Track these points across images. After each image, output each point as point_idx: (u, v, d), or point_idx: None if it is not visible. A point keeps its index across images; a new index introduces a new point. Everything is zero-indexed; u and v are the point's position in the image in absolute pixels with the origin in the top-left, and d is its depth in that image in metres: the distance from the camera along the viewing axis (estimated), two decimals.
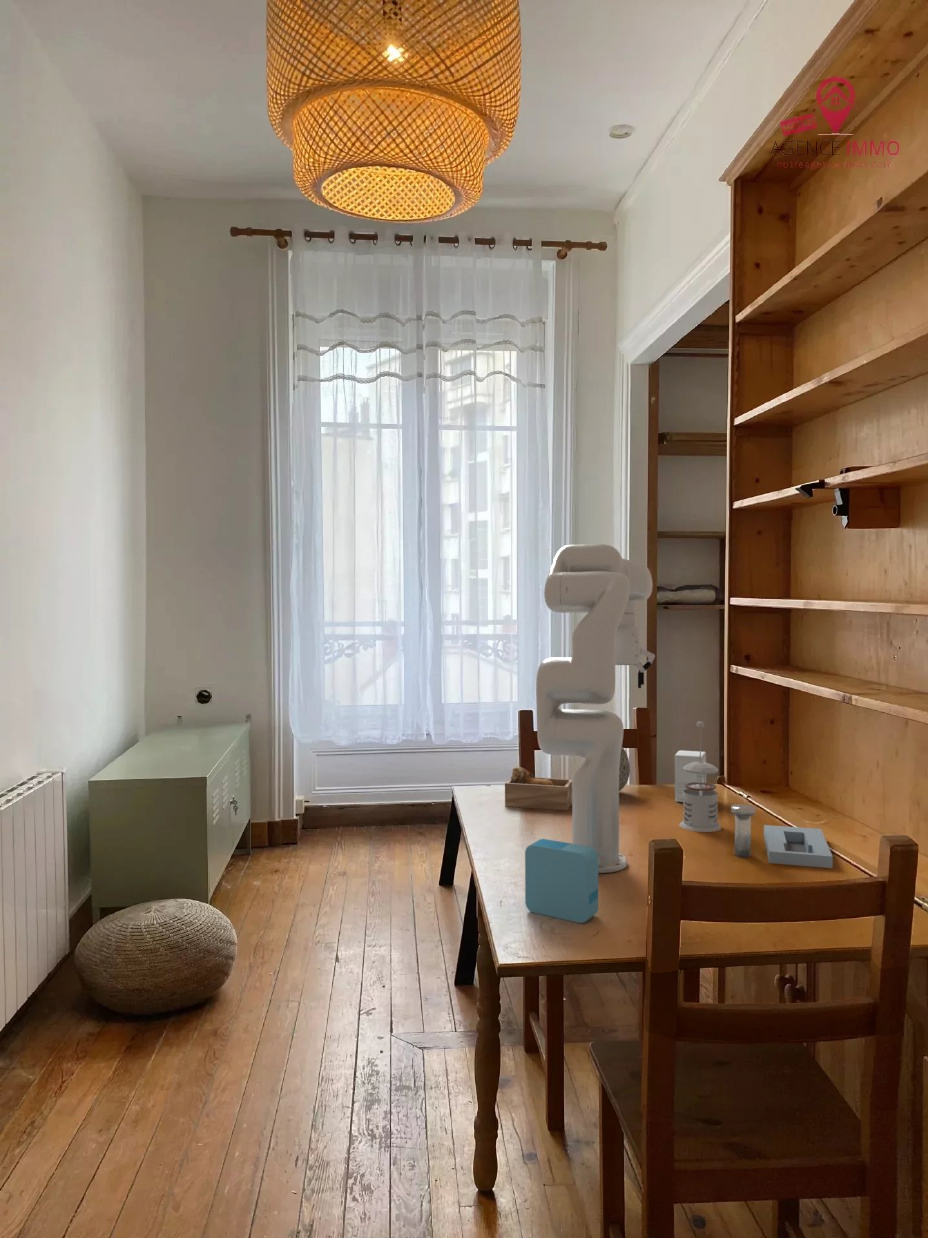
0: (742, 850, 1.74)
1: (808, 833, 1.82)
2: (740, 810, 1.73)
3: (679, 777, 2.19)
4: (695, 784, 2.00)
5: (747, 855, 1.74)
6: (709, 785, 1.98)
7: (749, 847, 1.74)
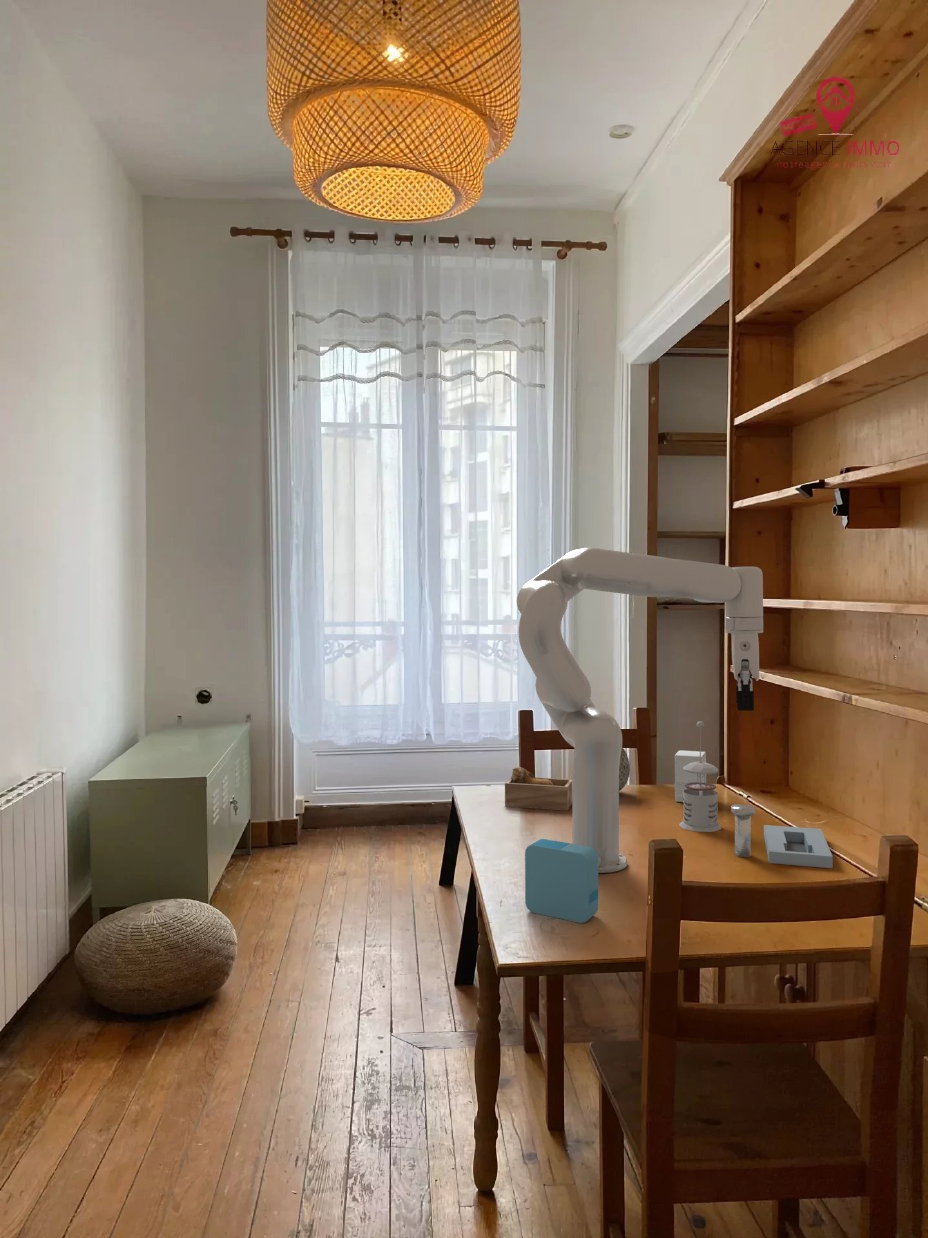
0: (742, 850, 1.74)
1: (808, 833, 1.82)
2: (740, 810, 1.73)
3: (679, 777, 2.19)
4: (695, 784, 2.00)
5: (747, 855, 1.74)
6: (709, 785, 1.98)
7: (749, 847, 1.74)
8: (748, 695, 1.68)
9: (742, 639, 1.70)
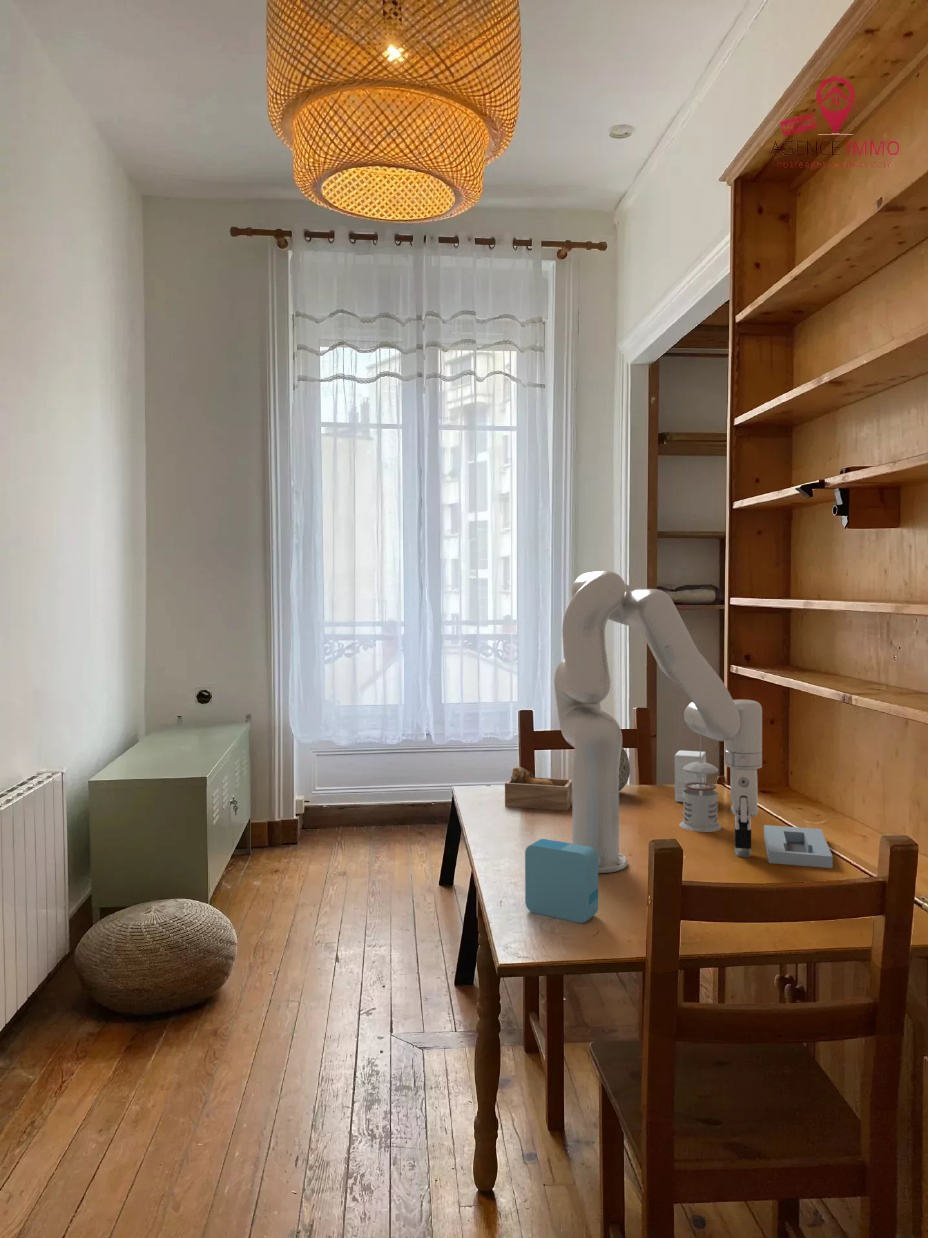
0: (742, 850, 1.74)
1: (808, 833, 1.82)
2: None
3: (679, 777, 2.19)
4: (695, 784, 2.00)
5: (747, 855, 1.74)
6: (709, 785, 1.98)
7: None
8: (746, 834, 1.72)
9: (741, 775, 1.70)
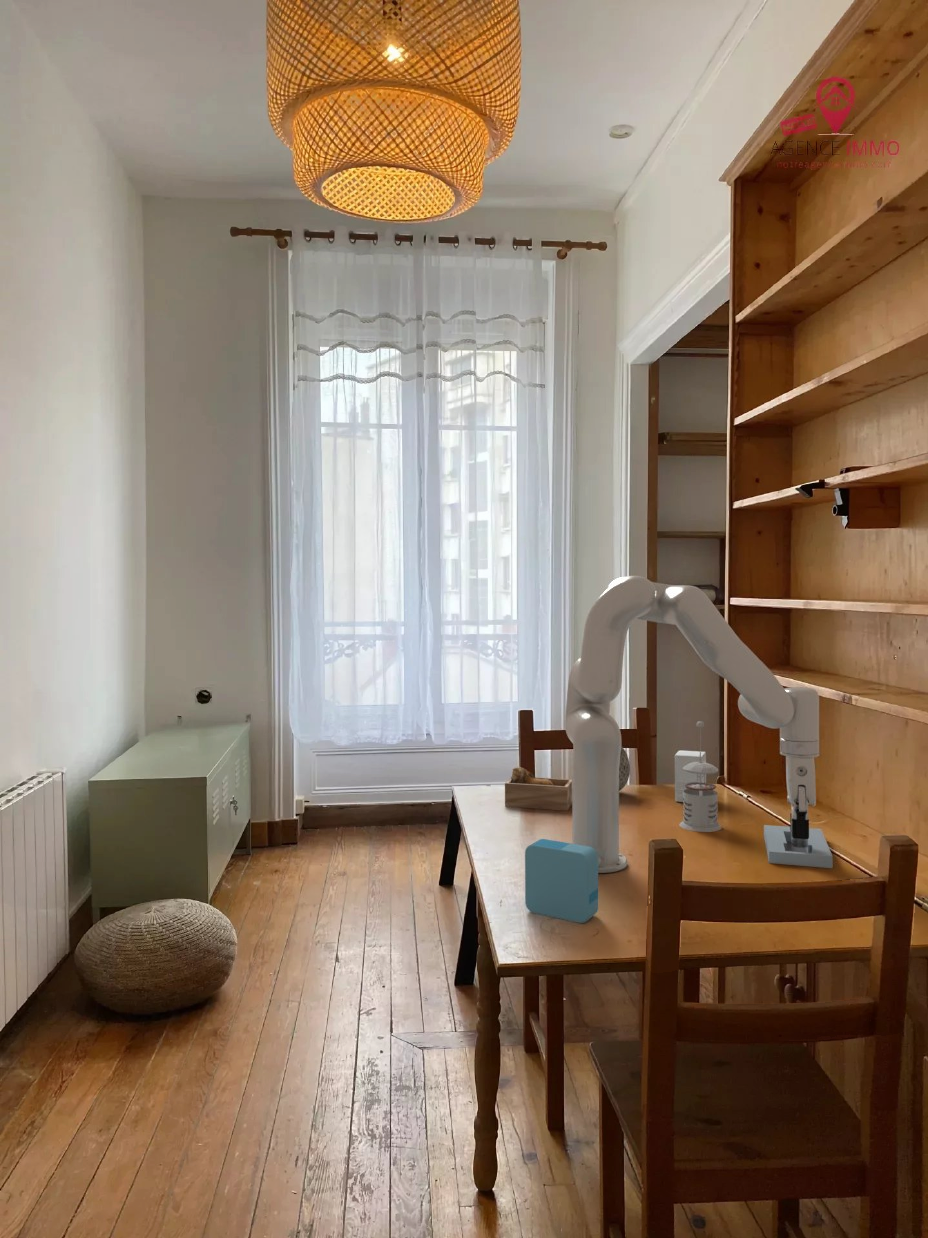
0: (800, 840, 1.70)
1: None
2: None
3: (679, 777, 2.19)
4: (695, 784, 2.00)
5: (804, 845, 1.70)
6: (709, 785, 1.98)
7: None
8: (803, 824, 1.69)
9: (799, 764, 1.67)
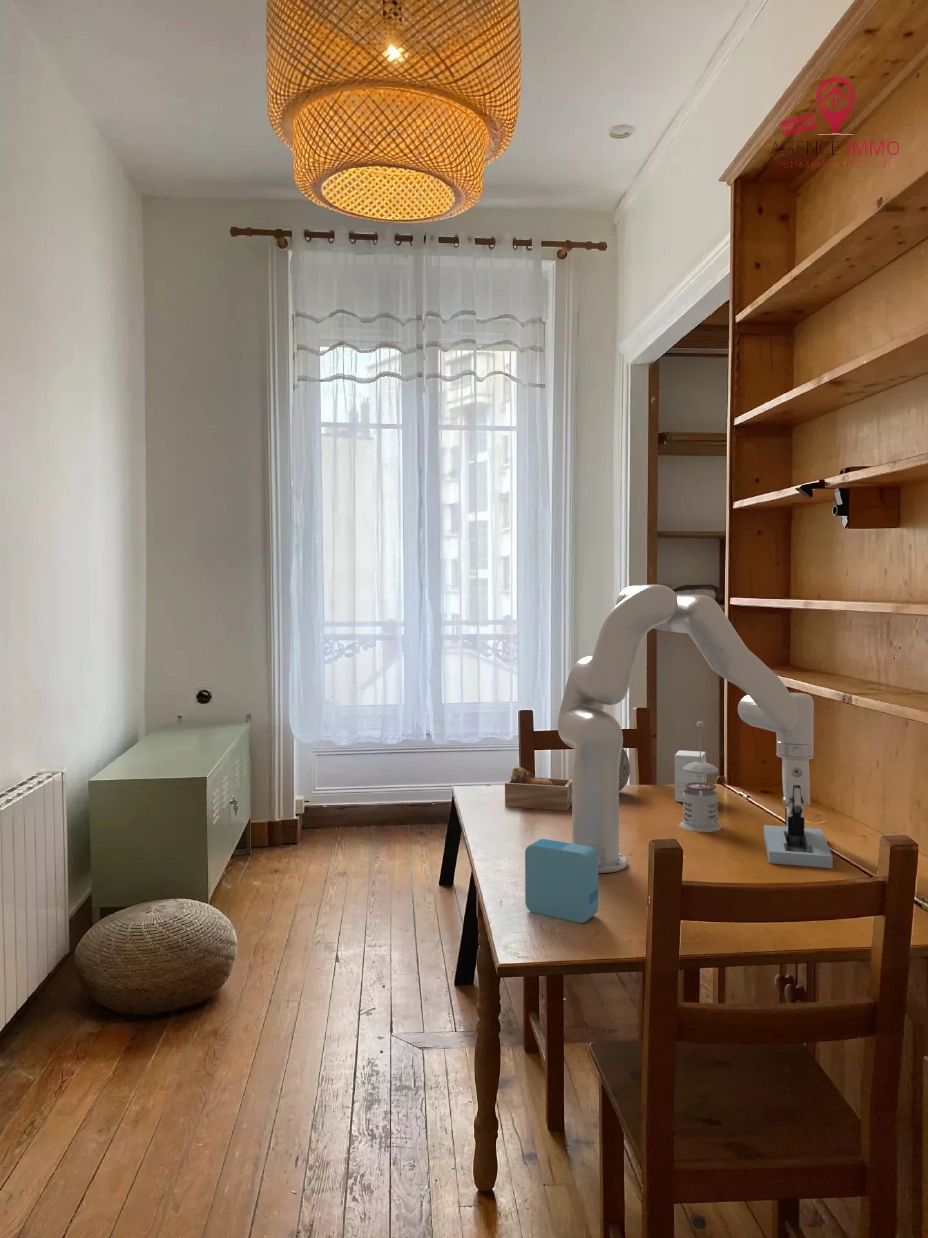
0: (794, 839, 1.80)
1: (808, 833, 1.82)
2: (792, 801, 1.79)
3: (679, 777, 2.19)
4: (695, 784, 2.00)
5: (799, 844, 1.80)
6: (709, 785, 1.98)
7: None
8: (799, 822, 1.77)
9: (794, 765, 1.77)
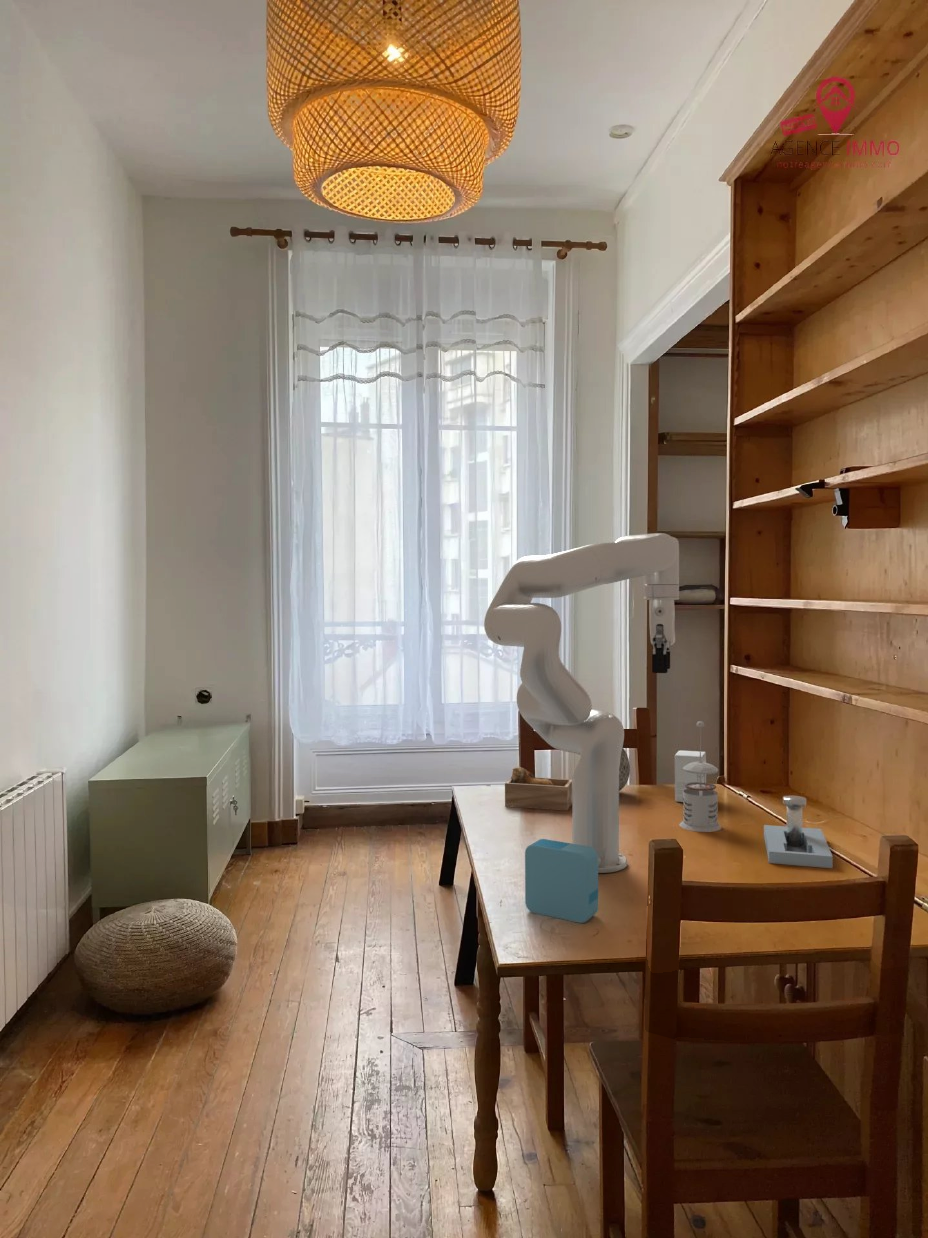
0: (794, 839, 1.80)
1: (808, 833, 1.82)
2: (792, 801, 1.79)
3: (679, 777, 2.19)
4: (695, 784, 2.00)
5: (799, 844, 1.80)
6: (709, 785, 1.98)
7: (801, 836, 1.80)
8: (662, 658, 1.77)
9: (657, 605, 1.78)
